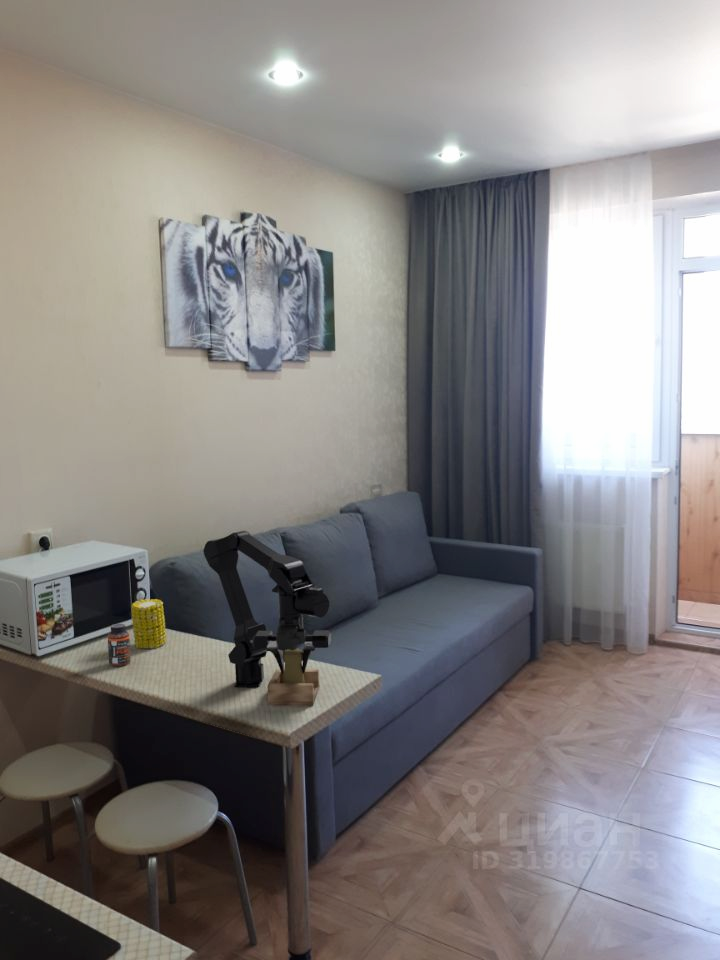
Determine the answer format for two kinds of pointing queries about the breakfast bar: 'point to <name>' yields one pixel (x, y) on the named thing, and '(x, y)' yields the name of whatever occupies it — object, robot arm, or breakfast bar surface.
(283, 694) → the wooden box
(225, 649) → the breakfast bar surface
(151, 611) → the food
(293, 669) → the cork
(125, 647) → the supplement bottle
